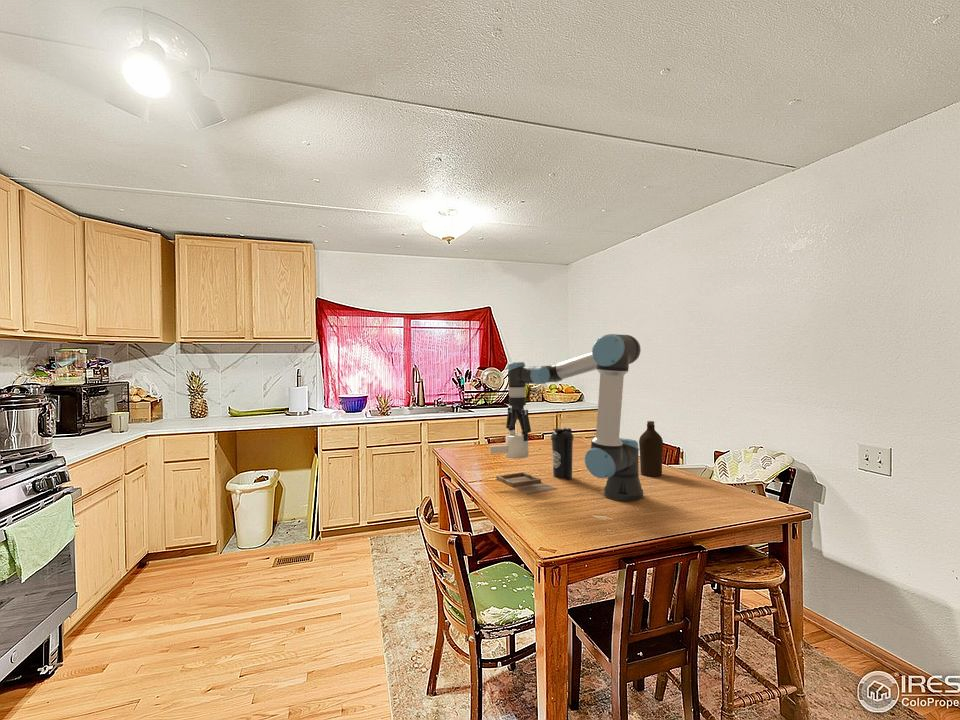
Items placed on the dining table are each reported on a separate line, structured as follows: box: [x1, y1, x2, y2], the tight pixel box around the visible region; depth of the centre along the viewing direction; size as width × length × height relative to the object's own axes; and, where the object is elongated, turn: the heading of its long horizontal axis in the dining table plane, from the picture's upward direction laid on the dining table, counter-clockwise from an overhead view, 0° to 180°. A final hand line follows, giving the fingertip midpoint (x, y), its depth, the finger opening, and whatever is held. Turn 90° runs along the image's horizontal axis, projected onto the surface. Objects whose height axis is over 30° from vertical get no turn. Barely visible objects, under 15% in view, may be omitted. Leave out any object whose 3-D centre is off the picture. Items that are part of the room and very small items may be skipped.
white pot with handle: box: [488, 433, 530, 460], centre depth 210 cm, size 18×10×9 cm, turn 103°
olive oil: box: [638, 420, 664, 478], centre depth 223 cm, size 11×11×25 cm
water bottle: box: [550, 427, 574, 481], centre depth 219 cm, size 10×10×23 cm
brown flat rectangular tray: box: [496, 471, 558, 495], centre depth 207 cm, size 27×15×2 cm, turn 26°
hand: (518, 446), depth 212 cm, fingers closed on white pot with handle, 10 cm apart
